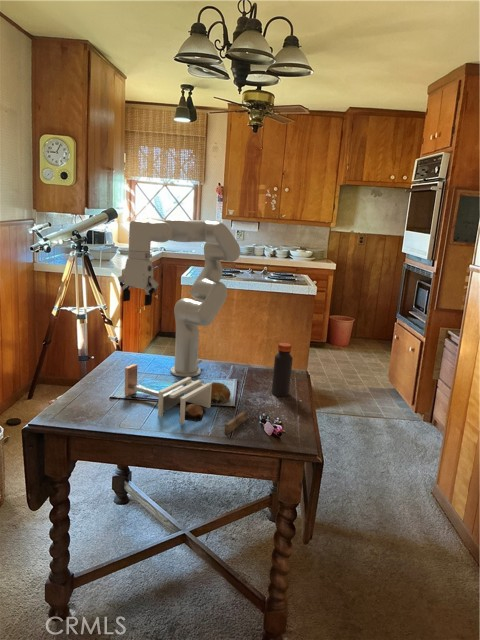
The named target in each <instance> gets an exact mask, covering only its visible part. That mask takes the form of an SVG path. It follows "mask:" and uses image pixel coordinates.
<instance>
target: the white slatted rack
mask: <svg viewBox="0 0 480 640" xmlns="http://www.w3.org/2000/svg"><path fill="white" fill-rule="evenodd" d="M212 383H213V382H206V383H203V382H202V379H197V380H192V377H184V378H183V379H181V380H179V381H177V382H175V383H173V384H171V385H169V386H166V387H164V388H163V389H160V390H159V391H158V392H159V397H158V406H157V417H159V418H163V415H164V412H163V395H164V394H166V393H168V392H170V391H171V390H173V389H175V388H177V387H179V386H181V385H183V386H185V387H183V388H181V389H179V390H177V391H175V392H173V393H171V394H169V397H170V398H174V397H176V396H178V395H180V394H182V393H184V396H182V397H181V398H180V401H181V403H180V405H179V406H180V407H179V414H180V415H179V425H184V424H185V422H186V420H185V405H186V402H188V403H190V404H197V405H199V406H201V407H203V408H208V409H210V408H211V404H212V403H211V389H212Z"/></svg>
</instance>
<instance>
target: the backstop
mask: <svg viewBox="0 0 480 640" xmlns="http://www.w3.org/2000/svg"><path fill="white" fill-rule="evenodd" d="M247 418H248V411H247V410H243V411H242V412H240V413H238V414H237V415H236V416H235V417H233V418H232V419H230V420H229V421H227V422H226V423H225V424H224V432H223V433H224V434H227V435H229V434H230V433H231V432H233V431H234V430H235V429H236V428H238V427H239V426H240V425H241V424H243V423H244V422H245V421H246V420H248V419H247Z"/></svg>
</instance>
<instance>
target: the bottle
mask: <svg viewBox="0 0 480 640" xmlns="http://www.w3.org/2000/svg"><path fill="white" fill-rule="evenodd" d="M277 351H278V353H277V354H275V356H274V363H273V373H272V384H271V393H272V395H274V396H276V397H281V398H282V397H287V396H289V394H290V387H291V378H292V369H293V356H292V355H291V352H292V344H290V343H288V342H280V343H278V347H277Z"/></svg>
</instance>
